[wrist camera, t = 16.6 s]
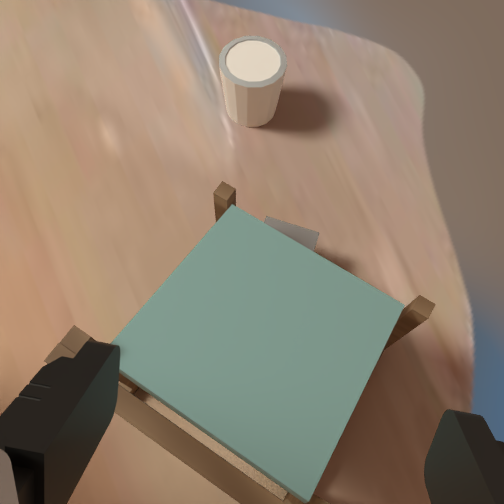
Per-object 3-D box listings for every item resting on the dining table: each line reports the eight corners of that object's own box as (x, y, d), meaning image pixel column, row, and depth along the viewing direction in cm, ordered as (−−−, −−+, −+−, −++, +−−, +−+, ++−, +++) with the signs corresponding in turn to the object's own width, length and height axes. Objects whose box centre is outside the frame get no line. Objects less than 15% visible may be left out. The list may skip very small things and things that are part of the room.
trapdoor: (304, 503, 26) (308, 501, 25) (102, 361, 28) (100, 355, 27) (398, 311, 33) (404, 305, 32) (230, 212, 36) (232, 204, 35)
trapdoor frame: (290, 520, 38) (326, 566, 22) (115, 395, 41) (43, 360, 26) (385, 342, 43) (465, 281, 28) (225, 245, 47) (220, 144, 32)
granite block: (286, 337, 39) (319, 232, 42) (228, 317, 39) (266, 215, 43) (281, 349, 43) (311, 254, 47) (229, 332, 44) (263, 239, 47)
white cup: (292, 100, 54) (299, 52, 48) (261, 141, 52) (264, 97, 45) (241, 74, 55) (242, 24, 49) (208, 114, 53) (205, 67, 47)
